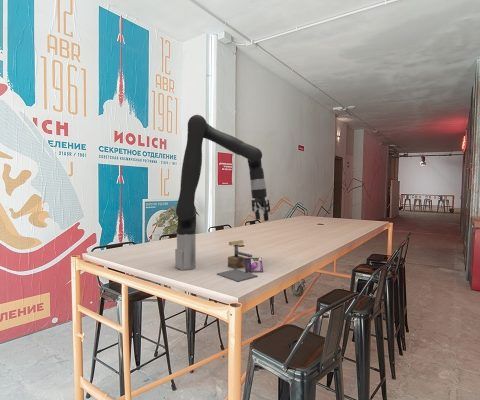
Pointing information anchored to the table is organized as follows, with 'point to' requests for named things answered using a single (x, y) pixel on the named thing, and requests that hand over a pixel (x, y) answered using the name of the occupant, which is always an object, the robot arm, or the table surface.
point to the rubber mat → (237, 275)
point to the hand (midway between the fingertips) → (262, 220)
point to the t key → (237, 248)
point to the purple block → (254, 265)
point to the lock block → (236, 262)
